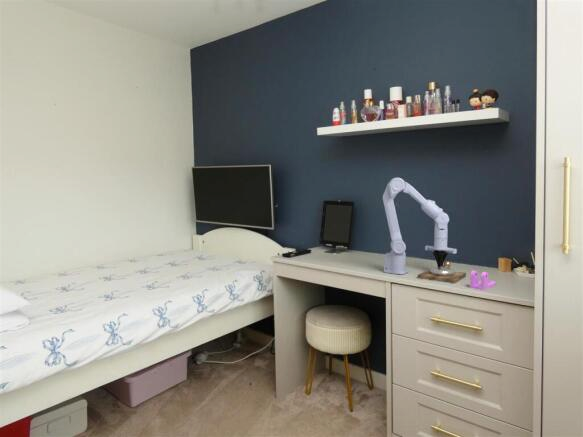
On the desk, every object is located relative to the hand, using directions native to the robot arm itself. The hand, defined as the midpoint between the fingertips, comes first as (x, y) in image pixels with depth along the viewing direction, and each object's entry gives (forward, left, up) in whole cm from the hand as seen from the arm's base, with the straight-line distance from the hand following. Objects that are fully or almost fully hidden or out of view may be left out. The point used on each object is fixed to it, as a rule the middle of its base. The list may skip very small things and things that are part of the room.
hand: (440, 267), depth 197 cm
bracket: (+22, -13, -3) cm, 26 cm away
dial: (+3, -5, -1) cm, 6 cm away
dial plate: (+3, -7, -3) cm, 8 cm away
